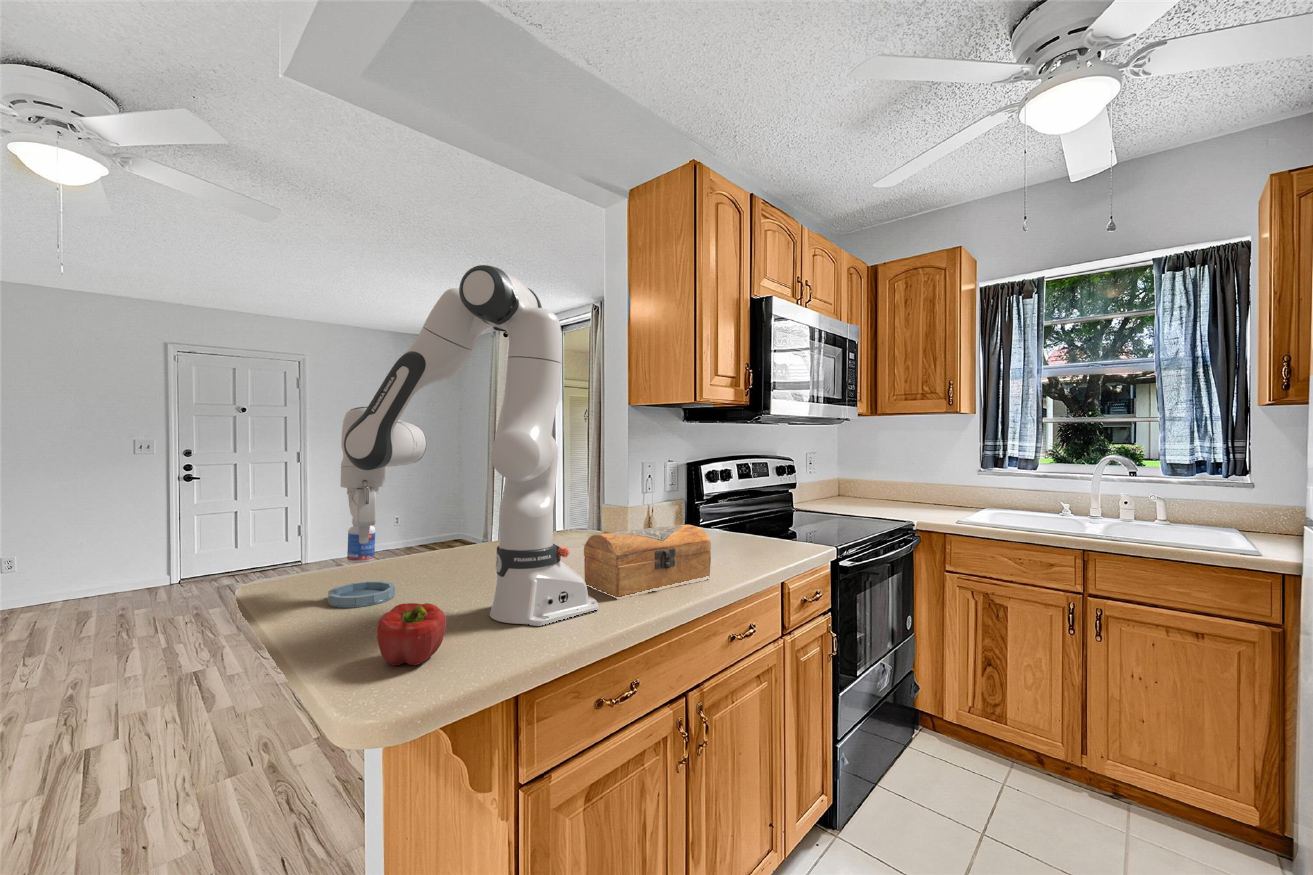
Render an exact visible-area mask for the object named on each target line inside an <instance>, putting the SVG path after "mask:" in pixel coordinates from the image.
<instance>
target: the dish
mask: <svg viewBox="0 0 1313 875" xmlns="http://www.w3.org/2000/svg"><path fill="white" fill-rule="evenodd" d="M327 594H328V595H327V601H328V602H327V603H328V606H331V607H333V608H339V609H355V608H364V607H371V606H375V605H379V604H382V603H386V602H388V601H391V600H392V599H393V598H394V597H395V594H396V585H395V584H394V583H393V582H389V581H384V580H379V581H378V580H366V581H359V582H358V581H357V582H350V583H346V584H343V585H338V586H336V587H334V588H332V589H330V590H328V591H327Z"/></svg>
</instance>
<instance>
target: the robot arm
mask: <svg viewBox="0 0 1313 875" xmlns="http://www.w3.org/2000/svg"><path fill="white" fill-rule="evenodd" d="M488 328H493V330H495V331H498V332H505V333H507V336H508V352H507V362H506V364H507V365H506V373H505V385H504V386H505V388H504V394H503V395H504V397H503V402H502V406H501V411H500V413H499V417H498V422H497V427H496V432H495V437H494V441H493V444H492V446H491V449H490V460H491V464H492V467H493V468H494V469H495V471H497V473H498V474H499V475H501V476H502V477H503V478H505V479H504V486H503V492H502V498H501V501H500V506H499V510H498V512H499V514H498V517H499V518H498V545H497V546H496V554H495V572H496V574H497V576H496V583H495V584H496V585H495V592H494V596H493V597H494V598H493V601H492V606H491V609H490V612H489V616H490V618H491V619H492V620H495V621H496V622H501V623H505V624H515V625H516V624H519V625H520V624H521V625H528V624H529V625H530V626H533V627H534V626H535V627H543V626H545V624H546V625H549V623H550V624H552V622H554V623H556V621H557V622H559V621H558V620H561V621H564V620H563V619H565V620H568V619H570V618H569V617H572V618H575V617H574V616H576V615H579V614H582V613H586V612H588V611H594V610H597V609H598V610H599V603H598V601H597V600H596V599H595V598H594V597H592V596H591V595H589V594H588V593H589V592H588V587H587V586H586V583H585V578H583V576H582V575H580V574H579V573H578V572H576V571H575V570H574V569H573V568H571V567H570V566H569V565H568V564H566V563H564V562H563V561H562V560H561V558H568V557H569V555H570V549H569V548H567V547H566V546H559V545H557V544H555V543H554V505H555V494H556V486H557V472H558V459H559V456H558V455H559V449H558V445H557V444H558V443H557V441H556V439H555V438H554V437H553V427H554V422H555V416H556V412H557V406H558V404H559V399H560V398H559V396H560V384H561V373H562V358H563V343H562V342H563V341H562V340H563V339H562V328H561V321H560V319H559V317H557V315H556V314H555V313H554V312H552V311H551V310H548V309H546V308H543V307H542V304H541V300H540V299H539V297H538V296H537V294H536V293H535V292H534V290H532V289H530V288H528V287H527V286H526V285H525V284H524V283H522V281H520V280H519V279H518V278H516V277H515V276H513V275H511V274H509V273H507V272H505V271H504V270H502V269H501V268H499V267H496V266H492V265H488V264H480V265H479V264H478V265H475V266H472V267H471V268H470V269H468V270H467V271H466V272H465V273H464V275H463V276H462V278H461V280H460V283H459V286H458V287H453V288H449V289H446V290H445V291H444V292H443V294H441V296H440V297H439V298H438V300H437V301H436V303H435V304H434V306H433V308H432V309H431V310H430V312H429V313H428V316H427V318H426V320H425V322H424V323H423V326H422V328H421V330H420V332H419V333H418V335H417V337H416V339H415V340H414V341H413V343H412V345H411V346H410V347H409V349H408V350H407V351H406V352H404V354H403V355H401V356H400V357H399V358H398V359H397V361H396V362H395V363H394V364H393V366H392V367H391V369H390V371H389V372H388V373H387V374H386V376H385V378H384V380H383V382H382V383H381V384H380V387H379V388H378V390H377V391H376V393H375V395H374V396H373V398H372V400H371V401H370V402H369V404H368V406H359V407H358V406H357V407H354V408H350V410H348V411H346V412H345V415H344V417H343V420H342V422H343V423H342V427H341V428H342V429H341V445H340V446H341V447H340V448H341V450H342V454H343V455H342V460H341V463H340V488H344V489H345V488H346V495H348V496H347V497H348V508H349V513H350V515H351V516H352V518H354V520H355V522H356V524H357V526H359V543H360V544H364V543H368V536H369V530H370V526H375V525H376V523H377V495H378V494H379V492H380V491H379V489H380V488H381V487H385V486H386V468H387V467H388V468H389V467H390V468H391V467H398V466H407V465H411V464H414V463H417V462H419V461H420V460H421V459H422V458H423V456H424V454H425V453H426V449H427V438H426V435H425V433H424V431H423V430H422V428H421V427H419V425H416V424H414V423H413V424H412V423H409V422H406V421H404V420H401V419H400V418H401V416H403V414H404V412H405V410H406V409H407V406H408V405H409V403H410V402H411V401H412V398H413V397H414V396H415V395H416V394H417V393H418V392H419V391H420V390H422V389H423V388H425V387H426V386H429V385H431V384H434V383H436V382H440V381H444V380H448V379H450V378H453V377H454V376H457V375H458V374H459V373H460V372H461V370H462V369H464V366H466V364H467V362H468V361H469V358H470V357H471V354H472V352H473V350H474V348H475V346H476V343H477V341H478V339H479V338H480V335H481V334H482V333H483V332H484V331H485V330H486V329H488ZM598 610H597V611H598ZM594 612H595V611H594ZM579 616H580V615H579ZM576 617H577V616H576ZM567 618H568V619H567ZM529 625H528V626H529ZM542 625H543V626H542Z"/></svg>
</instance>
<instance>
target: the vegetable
mask: <svg viewBox="0 0 1313 875" xmlns="http://www.w3.org/2000/svg"><path fill="white" fill-rule="evenodd" d="M446 628H447V619H446V614H445V612H443V611H442V610H441V608H440V607H438V605H435V604H433V603H428V602H427V603H416V602H415V603H413V602H412V603H411V602H409V603H407V602H406V603H400V604H397V605H395V606H394V607H392V608H391V610H389V611H388V612H385V613H384V614H383V615H381V618H380V619H378V622H377V628H376V634H377V635H376V636H377V637H376V638H377V643H378V648H379V652H380V655H381V657H382V659H384V661H385V662H387V663H388V664H389V665H392V666H399V665H404V664H405V663H406V664H408V665H409V666H417V665H420V664H423V663H425V662H426V661H427V660H429V658H430V657H432V656H433V655H435V653H436V652H437V651H438V650H439V648H440V647H441V645H442V642H443V640H444V636H445V633H446Z"/></svg>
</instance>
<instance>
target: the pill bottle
mask: <svg viewBox="0 0 1313 875" xmlns="http://www.w3.org/2000/svg"><path fill="white" fill-rule="evenodd" d="M351 520H352V522H351V523H352V526H351V527H349V529H348V531H347V552H346V555H347V556H346V557H347V559H346V560H347V562H348V563H353V564H361V563H369V562H373V561H374V560H375V551H376V527H375V526H374V525H372V526H370V530H369V536H368V543H364V544H360V543H359V526H357V524H356V522H355V520H354V518H353V517H352V519H351Z"/></svg>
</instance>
